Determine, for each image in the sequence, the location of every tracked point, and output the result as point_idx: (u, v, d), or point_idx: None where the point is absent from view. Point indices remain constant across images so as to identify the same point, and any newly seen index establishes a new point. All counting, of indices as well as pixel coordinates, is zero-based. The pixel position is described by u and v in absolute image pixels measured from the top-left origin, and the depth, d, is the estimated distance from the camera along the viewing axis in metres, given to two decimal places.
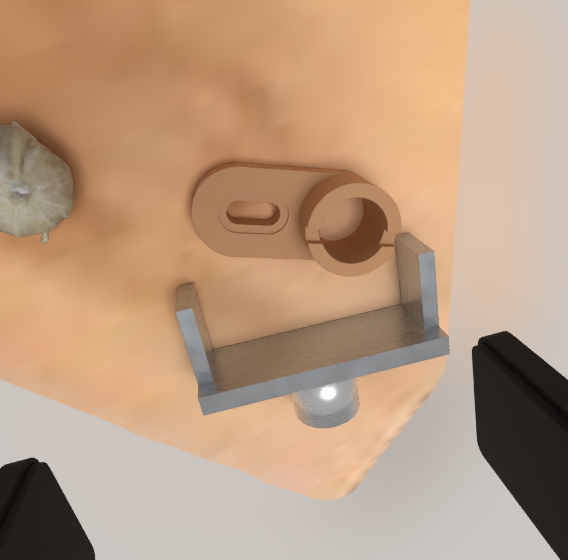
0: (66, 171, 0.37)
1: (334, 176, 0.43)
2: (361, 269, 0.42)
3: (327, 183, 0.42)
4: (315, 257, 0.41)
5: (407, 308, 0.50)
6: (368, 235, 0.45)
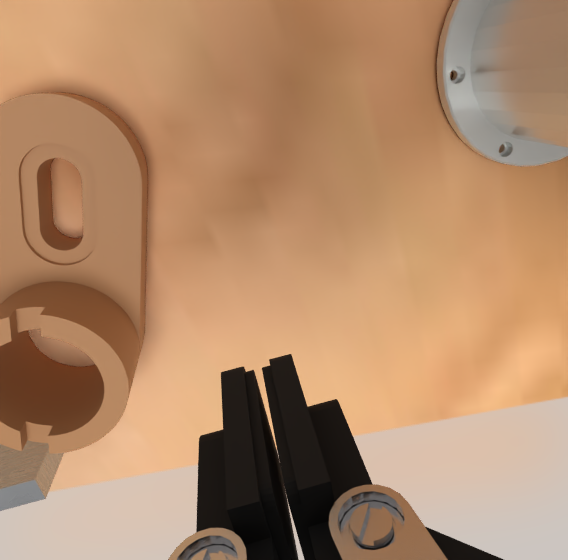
0: None
1: (135, 331, 0.28)
2: None
3: (124, 326, 0.26)
4: None
5: None
6: (41, 390, 0.28)
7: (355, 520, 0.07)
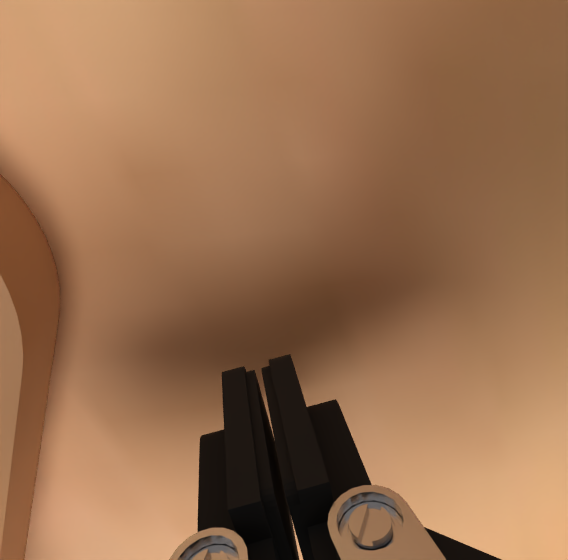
0: None
1: None
2: None
3: None
4: None
5: None
6: None
7: (354, 520, 0.07)
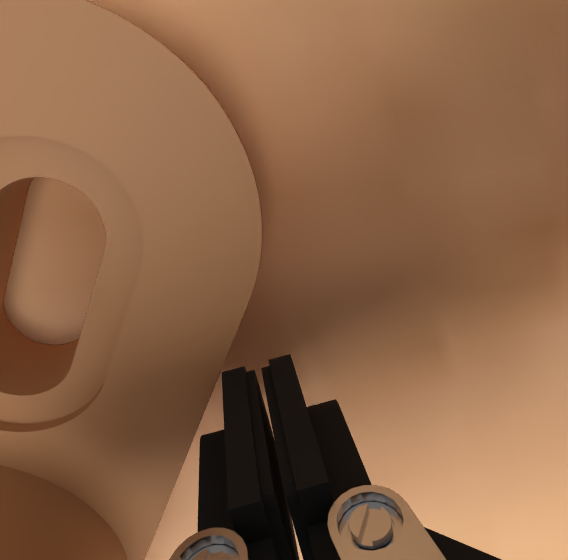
0: None
1: None
2: None
3: None
4: None
5: None
6: None
7: (354, 520, 0.07)
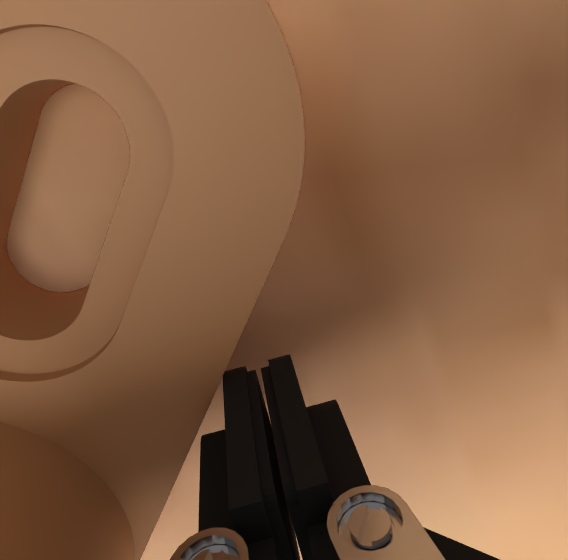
0: None
1: None
2: None
3: None
4: None
5: None
6: None
7: (353, 521, 0.07)
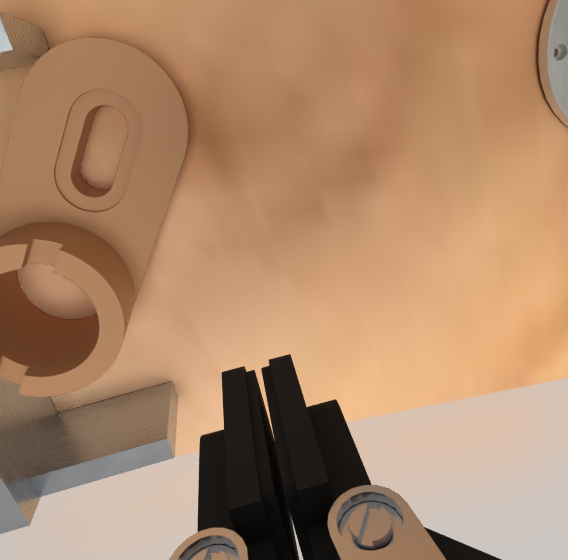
0: None
1: (133, 294, 0.28)
2: None
3: (127, 285, 0.26)
4: None
5: (55, 428, 0.31)
6: (20, 330, 0.27)
7: (354, 520, 0.07)
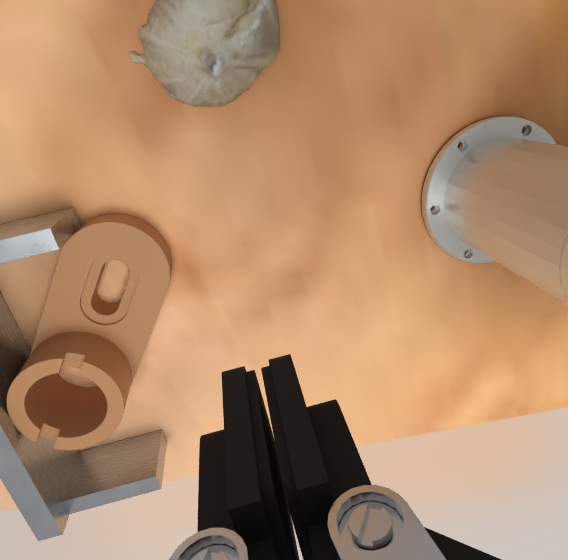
0: (227, 103, 0.31)
1: (131, 377, 0.40)
2: (14, 406, 0.35)
3: (127, 374, 0.39)
4: (42, 362, 0.34)
5: (78, 463, 0.44)
6: (53, 400, 0.40)
7: (354, 520, 0.07)
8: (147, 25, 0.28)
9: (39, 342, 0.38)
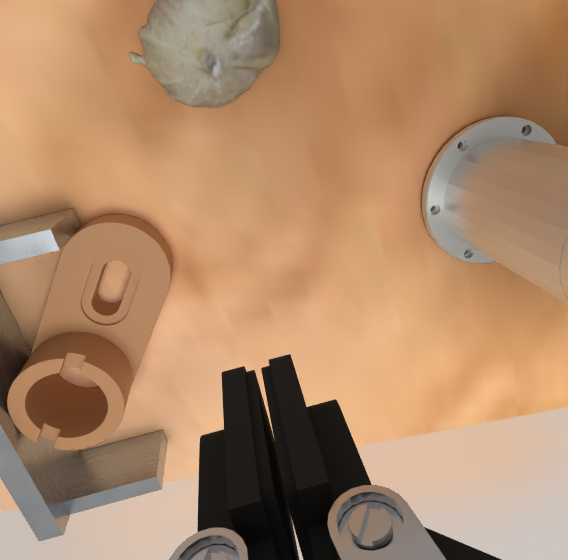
0: None
1: (131, 377, 0.40)
2: (15, 406, 0.35)
3: (127, 374, 0.39)
4: (43, 362, 0.34)
5: (79, 464, 0.44)
6: (54, 400, 0.40)
7: (354, 520, 0.07)
8: (147, 26, 0.28)
9: (40, 342, 0.38)
